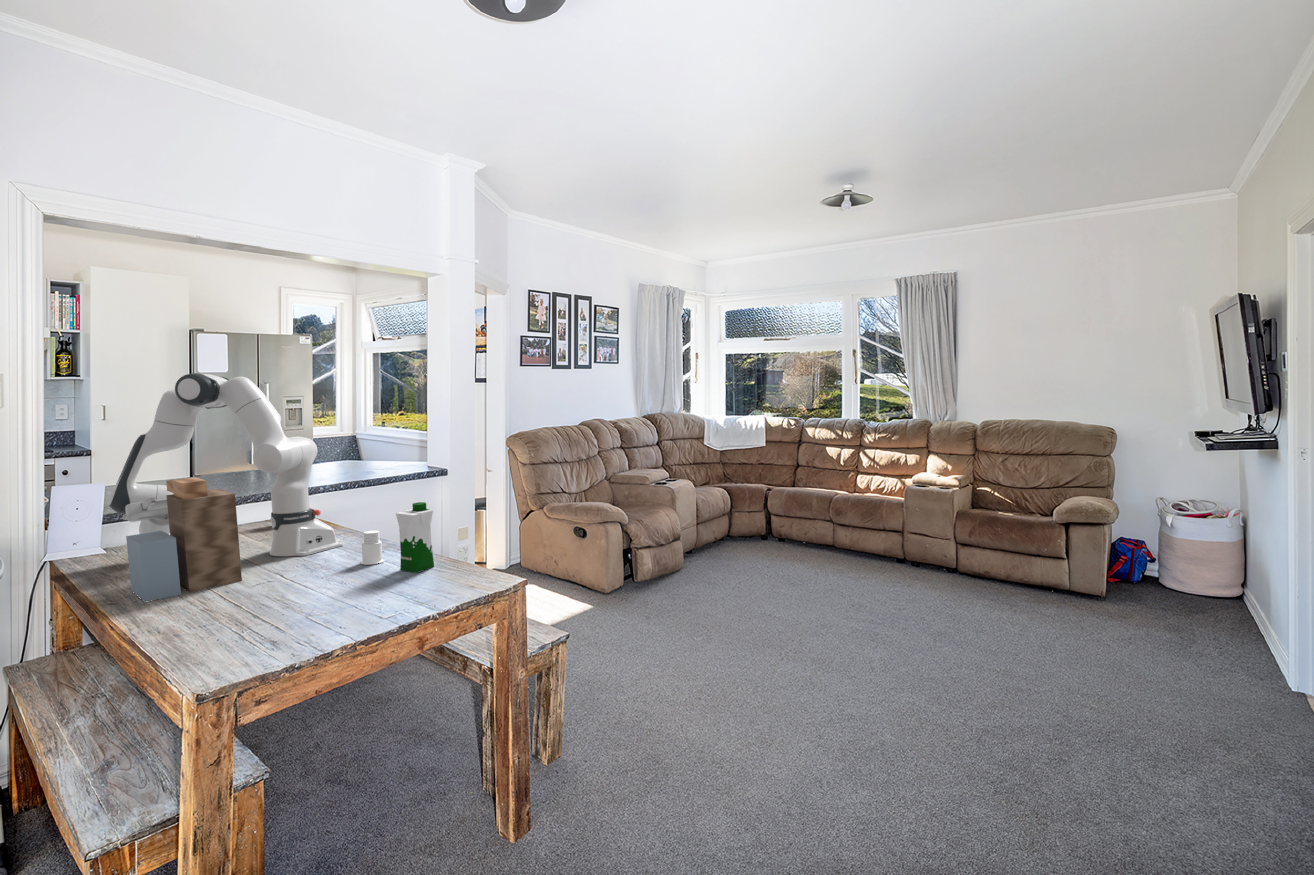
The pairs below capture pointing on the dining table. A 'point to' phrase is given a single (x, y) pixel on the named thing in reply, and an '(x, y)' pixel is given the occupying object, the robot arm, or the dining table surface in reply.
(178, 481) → the brown wooden block
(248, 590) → the dining table surface
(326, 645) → the dining table surface
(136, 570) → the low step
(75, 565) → the dining table surface
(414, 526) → the milk carton
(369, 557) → the white pill bottle
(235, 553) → the tall stand
